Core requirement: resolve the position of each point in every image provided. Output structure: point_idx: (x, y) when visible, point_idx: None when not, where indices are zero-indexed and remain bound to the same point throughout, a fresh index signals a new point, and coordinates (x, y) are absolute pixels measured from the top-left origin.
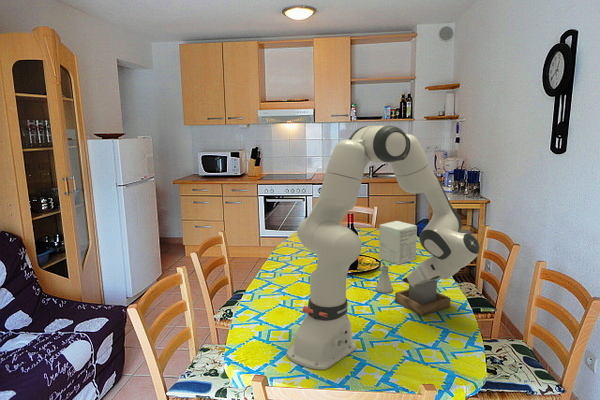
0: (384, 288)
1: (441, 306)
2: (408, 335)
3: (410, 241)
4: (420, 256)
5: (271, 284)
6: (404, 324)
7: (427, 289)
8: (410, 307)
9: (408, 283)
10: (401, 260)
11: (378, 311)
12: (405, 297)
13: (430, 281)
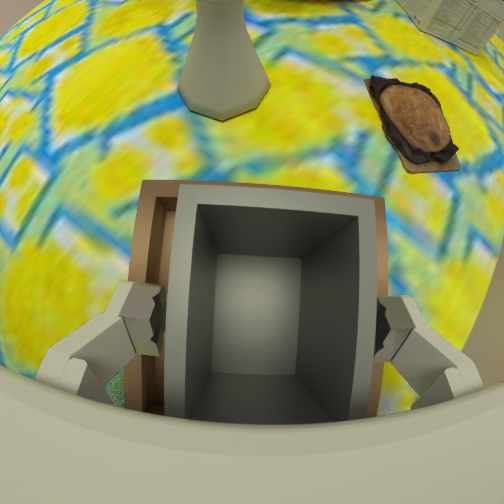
0: (192, 91)
1: None
2: None
3: (487, 8)
4: (490, 60)
5: (45, 8)
6: None
7: None
8: None
9: (375, 107)
10: (435, 27)
11: (34, 240)
12: (135, 270)
13: (342, 370)
